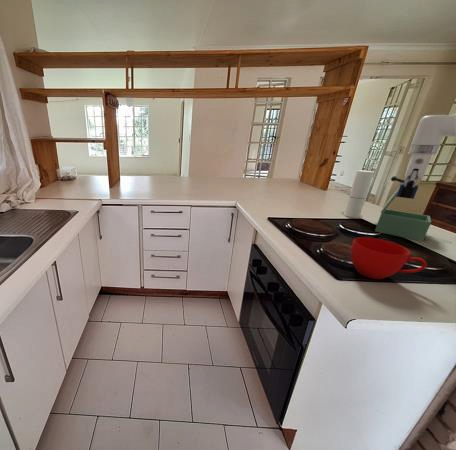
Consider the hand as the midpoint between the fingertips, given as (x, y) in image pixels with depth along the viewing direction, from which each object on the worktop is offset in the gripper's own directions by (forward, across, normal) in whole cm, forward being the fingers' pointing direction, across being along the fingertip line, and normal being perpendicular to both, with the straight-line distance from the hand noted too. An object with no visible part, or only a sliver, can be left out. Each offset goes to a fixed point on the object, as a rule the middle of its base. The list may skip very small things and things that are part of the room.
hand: (405, 195), depth 97 cm
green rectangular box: (+19, +12, -3) cm, 23 cm away
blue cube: (0, 0, 0) cm, 0 cm away
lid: (+2, +12, +2) cm, 13 cm away
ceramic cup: (+19, -45, +1) cm, 49 cm away
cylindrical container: (+19, +28, +17) cm, 38 cm away
